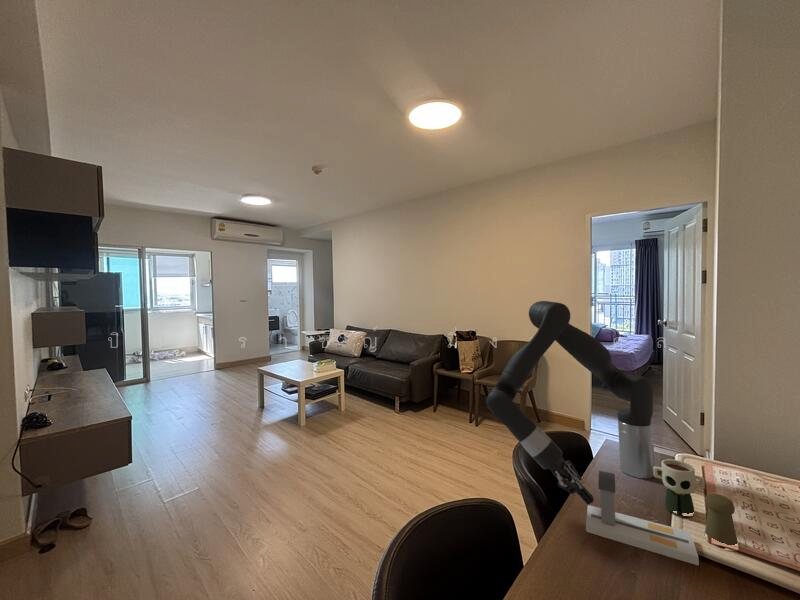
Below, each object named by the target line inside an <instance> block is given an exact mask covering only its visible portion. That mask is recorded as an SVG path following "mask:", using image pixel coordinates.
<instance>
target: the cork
mask: <svg viewBox="0 0 800 600" xmlns="http://www.w3.org/2000/svg"><path fill="white" fill-rule="evenodd" d="M704 502H705V505H706V507H707V508H708V509H707V515H706V522H705V529H704V534H705V533H706V534H707V535H708V536H709V537H711V538H713V539H715V540H717V541H719V542H721V543H725V544H727V545H735V544H737V543H738V544H739V541H738V537H737V533H736V528H735V523H734V519H733V514H734V513H735V511H736V507H735V505H734V503H733V501H732V500H731V499H730V498H728V497H726V496H724V495H721V494H718V493H708V494H707V495H705V498H704Z"/></svg>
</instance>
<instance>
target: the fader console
mask: <svg viewBox="0 0 800 600" xmlns="http://www.w3.org/2000/svg"><path fill="white" fill-rule="evenodd" d="M586 509H587V510H586V521H585V530H586V532H587V533H589V534H593V535H595V536H599V537H602V538H604V539H605V538H606V539H610V540H613V541H615V542H619V543H622V544H626V545H629V546H632V547H635V548H638V549H642V550H644V551H648V552H651V553H654V554H659V555H662V556H666V557H668V558H672V559H675V560H678V561H682V562H685V563H689V564H692V565H695V566H698V567H699V565H700V564H699V563H700V559H699V555H698V551H697V548H696V546H695V545H696V544H695V542H694V539H693V536H692V533H691V531H689V530H685V529H680V528H677V527H673V526H670V525H665V524H662V523H658V522H654V521H650V520H648V519H647V520H646V519H643V518H640V517H635V516H631V515H627V514H625V513H624V514H623V513H619V512H616V511H615V525H616V526H615V525H612V524H608V523H605V522H602V516H601V507H597V506H593V505H590V504H587V508H586Z"/></svg>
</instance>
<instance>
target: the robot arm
mask: <svg viewBox="0 0 800 600" xmlns="http://www.w3.org/2000/svg"><path fill="white" fill-rule="evenodd" d="M528 318H529V320H530V322H531V324H532V326H534V327H535V328H537V329H538V330H536V332H535V334H534V335H533V337H532V338H531V339H530V340H529V341H528V342H527V343H526V344H524V345H523V346H522V347H521V348H519V349H518V350H517V351H516V352H515V353H514V354H513V355H512V356H511V358H510V359H509V360H508V362H507V364H506V366H505V367H504V369H503V370H502V373H501V375H500V377H499V379H498V381H497V383H496V384H495V385H494V386H493V388H492V390H491V391H490V393H488V395H487V397H486V406H487V409H488V410H489V411H490V412H491V413H492V414H493V415H494V416H495V417H496V418H497V419H498V420H499V421H500V422H501V423H502V424H503V425H504V426H505V427H506V428H507V430H509V432H510V433H511V435H512V436H514V437H515V438H516V439H517V441H518V442H519V443H520V445H521V446H522V447H523V449H524V450H525V451H526V452H527V453H528V454H529V455H530V456H531V458H533V460H534V461H535V462H536V463H537V464H538V465H539V466H540V467H541V468H542V470H550V472H551V473H552V474H553V475H554V477H555V478H557V480H558V481H557V482H556V485H557V487H558V488H560V489H561V490H564V491H566V492H567V493H570V494H572V495H574V494H577V495H578V496H579V497H580V498H581V499H582V501H584V503H586V504H587V505H590V504H592V503H593V502H594V496H593V495H592V494H591V493H590V491H588V489H587V488H586V487H585V486H584V484H583V482H582V480H583V479H582V477H581V476H580V474H579V473H578V471H577V469H576V467H575V466H574V464H573V463H572V461H571V460H570V459H567V460H565V459H564V457H563V450H562V449H561V448H560V447H559V446H558V445H557V444H556V443H555V442H554V441H553V440H552V439H551V438H550V437H549V436H548V435H547V434H546V432H545V431H543V430H542V429H541V428H540V427H538V426H537V424H536V423H535V422H534V421H533V420H532V419H531V418H530V417H529V416H528V415H527V414H526V413H524V412H523V411H522V410H521V409H520V408H519V406H518V405H516V403H515V402H514V399H515V397H516V396H517V394H518V391H520V390H521V389H522V388H523V386H524V384H525V382H526V381H527V379H528V377H529V376H530V374H531V373H532V371H533V369H534V368H535V366H536V365H537V364H538V363H539V361H540V359H541V358H542V356H543V355H544V354H545V353H546V352H547V351H548V350H549V349H550V348H551V346H552V345H553V344H554V343H555V341H556V343H557V344H559V346H560V347H562V348H563V349H564V350H565V351H566V352H567V353H568V354H569V355H571V356H572V358H574V359H575V360H576V361H577V362H578V363H579V364H581V366H583V367H584V368H585V369H587V370H588V372H591V374H593V375H594V376H595V377H596V378H598V379H599V380H600V381H601V382H602V384H604V386H606V388H607V389H608V390H609V391H610V392H611V393H612V394H613V395H614V396H615V397H616V398H618V399H621V400H624V401H626V402H630V404H629V406H630V407H629V408H625V409H624V408H623V409H619V410H618V412H617V425H618V446H619V447H618V448H619V449H618V451H619V469H620V470H621V472H623V473H624V474H626V475H629V476H630V477H634V478H637V479H651V478H653V477H654V472H653V467H654V466H656V463H655V447H654V446H655V445H654V444H653V439H652V435H653V434H652V417H653V414H654V413H653V412H654V389H653V384H652V382H651V380H649V379H648V378H647V377H645V376H641V375H636V374H631V373H627V372H624V371H622V370H620V369H619V368H618V367H617V366H615V365H614V364H613V363H612V356H611V352H610V351H609V350H608V349H607V347H606V346H605V345H604V344H602V343H601V342H600V341H599V340H598V339H596V338H595V337H594V336H592V335H591V334H589V333H587V332H585V331H584V330H583V329H580V328H579V327H575V326H574V325H572V324H570V320H571V311H570V309H569V307H568V306H567V305H566V304H564V303H562V302H555V301H548V300H541V301H540V300H539V301H536V302H534V303H532V305H531V306H530V307H529V310H528Z"/></svg>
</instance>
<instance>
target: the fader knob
mask: <svg viewBox="0 0 800 600" xmlns="http://www.w3.org/2000/svg"><path fill="white" fill-rule="evenodd" d="M615 476H616V475H615V473H613V472H608V471H603V470H598V490H599V492H600V508H601V516H602V522H605V523H608V524H612V525H615V512H616V503H615V493H616V477H615ZM615 526H616V525H615Z"/></svg>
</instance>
